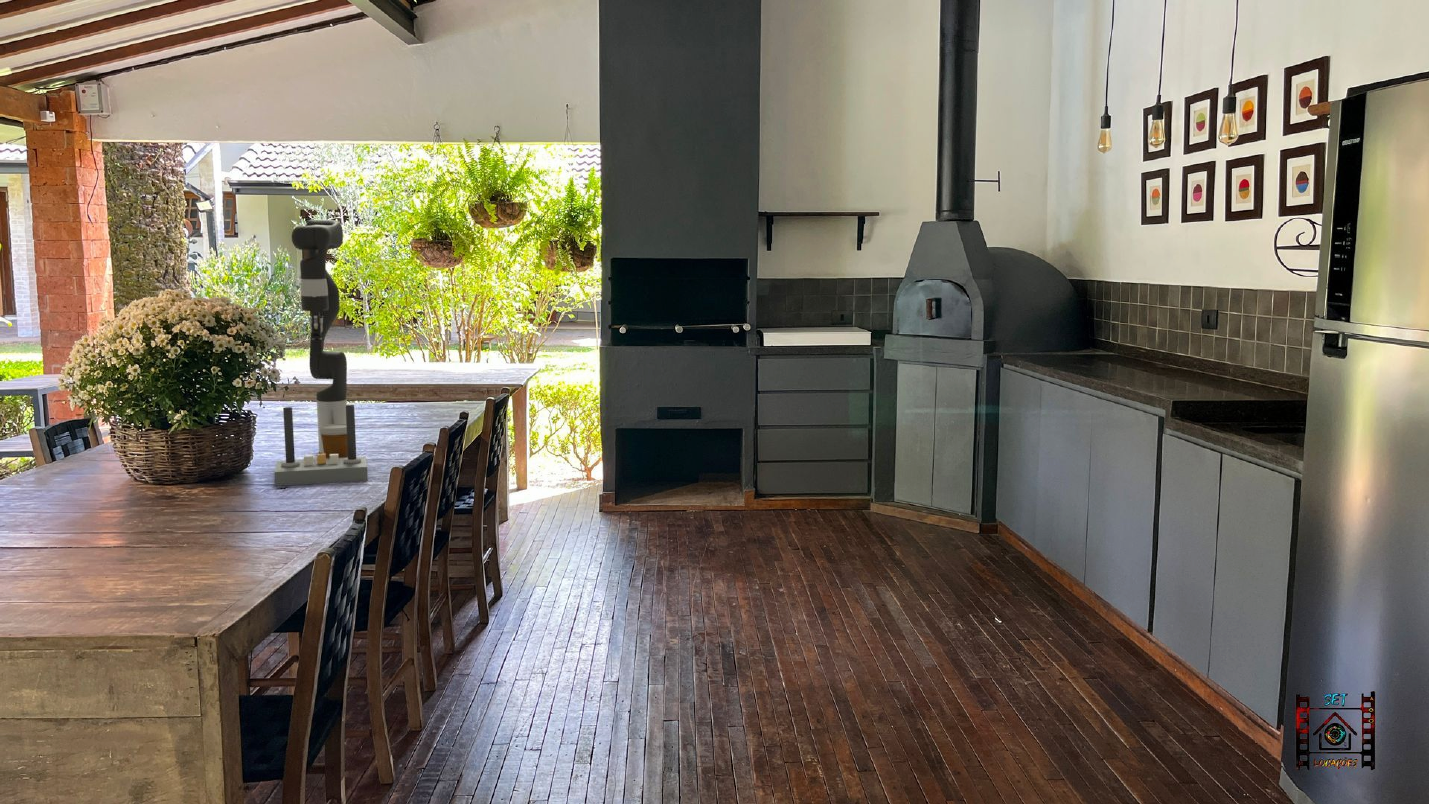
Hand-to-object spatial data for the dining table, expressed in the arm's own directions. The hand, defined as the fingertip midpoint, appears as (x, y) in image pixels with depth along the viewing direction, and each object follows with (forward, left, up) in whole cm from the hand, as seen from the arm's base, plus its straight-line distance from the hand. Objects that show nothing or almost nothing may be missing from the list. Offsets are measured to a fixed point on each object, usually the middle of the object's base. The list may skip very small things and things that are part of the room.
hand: (317, 352), depth 321 cm
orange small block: (+11, 0, -32) cm, 33 cm away
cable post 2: (+11, +8, -32) cm, 35 cm away
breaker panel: (+11, 0, -36) cm, 37 cm away
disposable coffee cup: (-8, +4, -36) cm, 37 cm away
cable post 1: (+11, -9, -32) cm, 35 cm away
